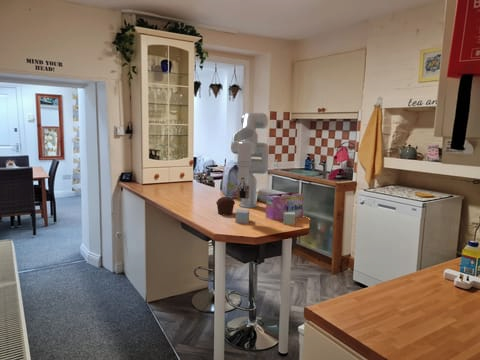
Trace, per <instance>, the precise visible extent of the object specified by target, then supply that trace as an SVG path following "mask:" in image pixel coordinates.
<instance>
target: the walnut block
mask: <svg viewBox="0 0 480 360" xmlns="http://www.w3.org/2000/svg"><path fill="white" fill-rule="evenodd" d="M245 191H246V195H245V198H240V186H238V188H237V197H236V199H241V200H242V199H248V198H249V186H245Z"/></svg>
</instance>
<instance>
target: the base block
mask: <svg viewBox="0 0 480 360" xmlns="http://www.w3.org/2000/svg"><path fill="white" fill-rule="evenodd" d="M234 221H235V223H236V224H249V222H248V221H250V209H236V211H235V220H234Z"/></svg>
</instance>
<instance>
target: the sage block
mask: <svg viewBox="0 0 480 360" xmlns="http://www.w3.org/2000/svg"><path fill="white" fill-rule="evenodd" d="M282 220H283V221H282V223H283V225H285V226H286V225H287V226H295V222H296V221H295V220H296V217H295V212H286V211H284V219H282Z"/></svg>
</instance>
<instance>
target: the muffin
mask: <svg viewBox="0 0 480 360" xmlns="http://www.w3.org/2000/svg"><path fill="white" fill-rule="evenodd" d="M215 203H216V207H217V214H218V215H220V216H231V215H233V213H234V207H235V204H236V202H235V200H234V199H233V198H230V197H227V196H222V197H219V198H218V199H217V201H216V202H215Z"/></svg>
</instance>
